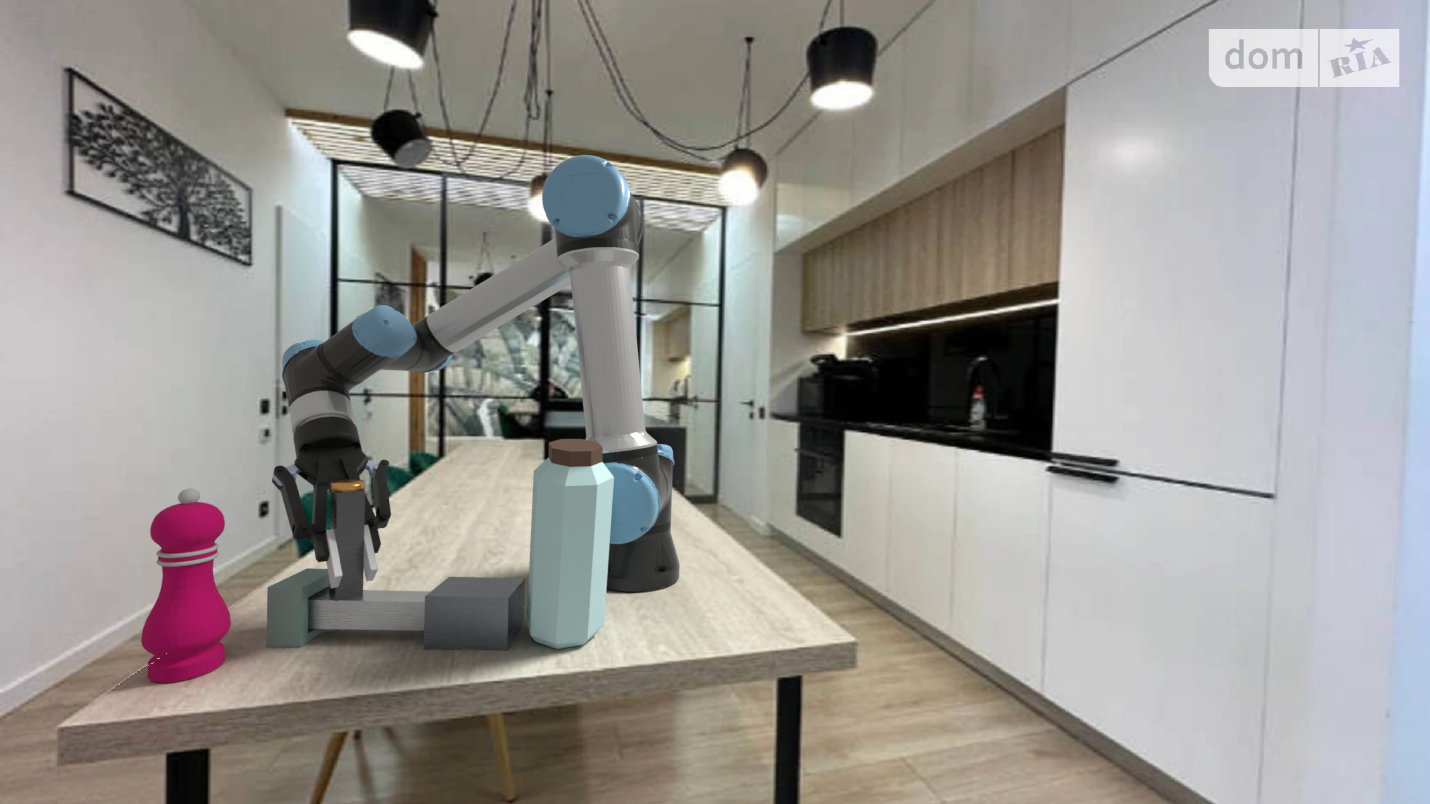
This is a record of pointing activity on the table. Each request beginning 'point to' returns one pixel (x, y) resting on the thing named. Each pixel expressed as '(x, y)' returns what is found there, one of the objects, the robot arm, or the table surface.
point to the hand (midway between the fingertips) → (354, 578)
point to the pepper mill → (186, 593)
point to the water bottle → (569, 544)
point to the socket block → (293, 608)
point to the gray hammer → (359, 577)
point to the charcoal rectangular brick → (474, 613)
